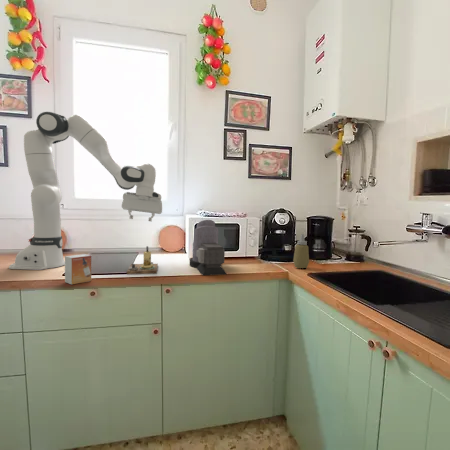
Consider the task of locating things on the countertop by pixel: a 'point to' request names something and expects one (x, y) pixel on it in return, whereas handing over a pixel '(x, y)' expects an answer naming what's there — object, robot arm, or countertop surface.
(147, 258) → the brass pinion
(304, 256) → the squeeze bottle
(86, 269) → the small box
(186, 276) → the countertop surface
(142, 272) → the gear board
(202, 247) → the juicer
